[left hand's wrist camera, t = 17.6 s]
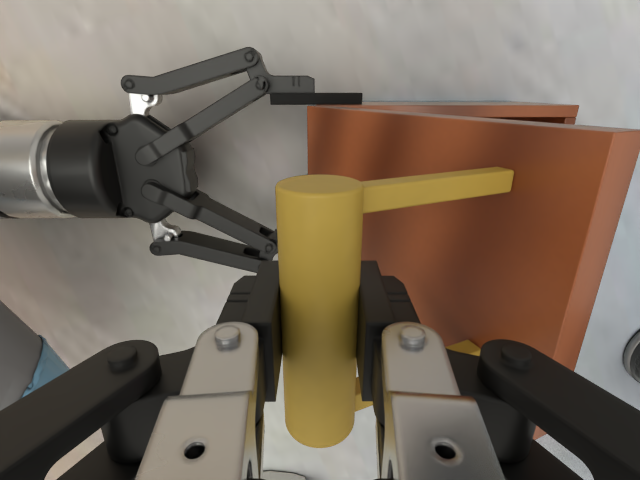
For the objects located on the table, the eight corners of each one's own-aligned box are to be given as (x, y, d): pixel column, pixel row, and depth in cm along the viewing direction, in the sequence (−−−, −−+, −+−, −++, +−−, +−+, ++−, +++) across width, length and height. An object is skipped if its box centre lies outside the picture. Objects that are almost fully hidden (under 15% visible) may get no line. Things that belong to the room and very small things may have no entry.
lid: (646, 130, 9) (333, 153, 6) (557, 428, 13) (328, 550, 10) (325, 105, 25) (185, 108, 21) (324, 245, 28) (204, 267, 25)
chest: (507, 101, 35) (579, 104, 26) (490, 205, 39) (547, 242, 29) (315, 101, 35) (315, 105, 25) (315, 205, 38) (316, 243, 29)
